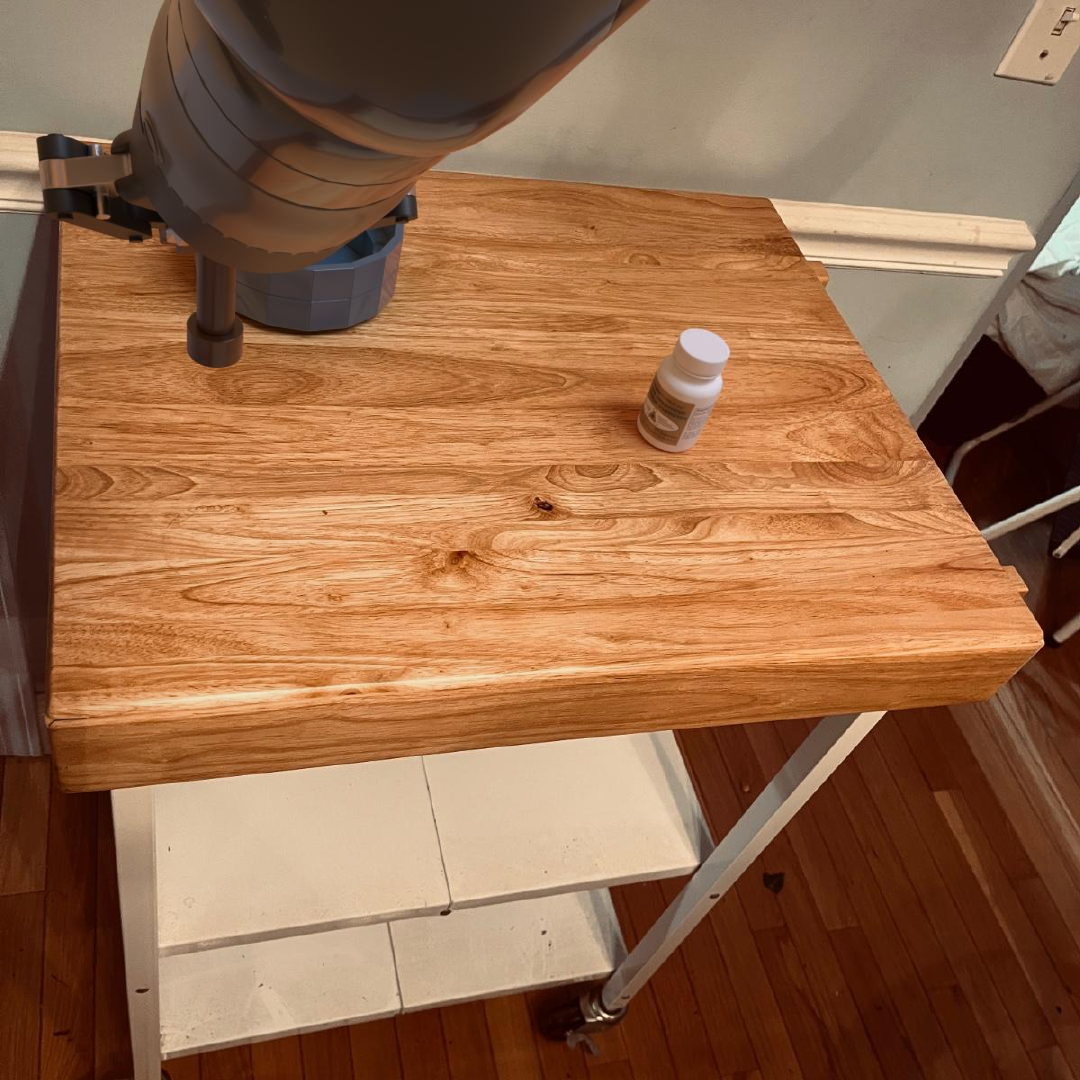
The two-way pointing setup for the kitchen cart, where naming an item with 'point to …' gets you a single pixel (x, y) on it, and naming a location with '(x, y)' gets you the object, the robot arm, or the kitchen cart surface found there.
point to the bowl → (326, 286)
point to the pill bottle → (684, 391)
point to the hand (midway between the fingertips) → (208, 230)
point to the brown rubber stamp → (215, 317)
